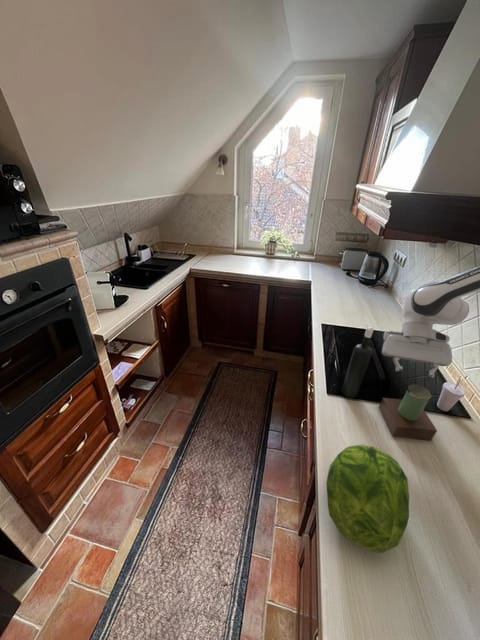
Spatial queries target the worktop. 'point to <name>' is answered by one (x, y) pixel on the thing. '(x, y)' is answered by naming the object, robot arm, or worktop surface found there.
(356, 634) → the worktop surface
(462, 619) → the worktop surface
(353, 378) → the wine bottle
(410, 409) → the green tin
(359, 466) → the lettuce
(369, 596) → the worktop surface
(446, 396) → the smoothie
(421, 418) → the walnut block
